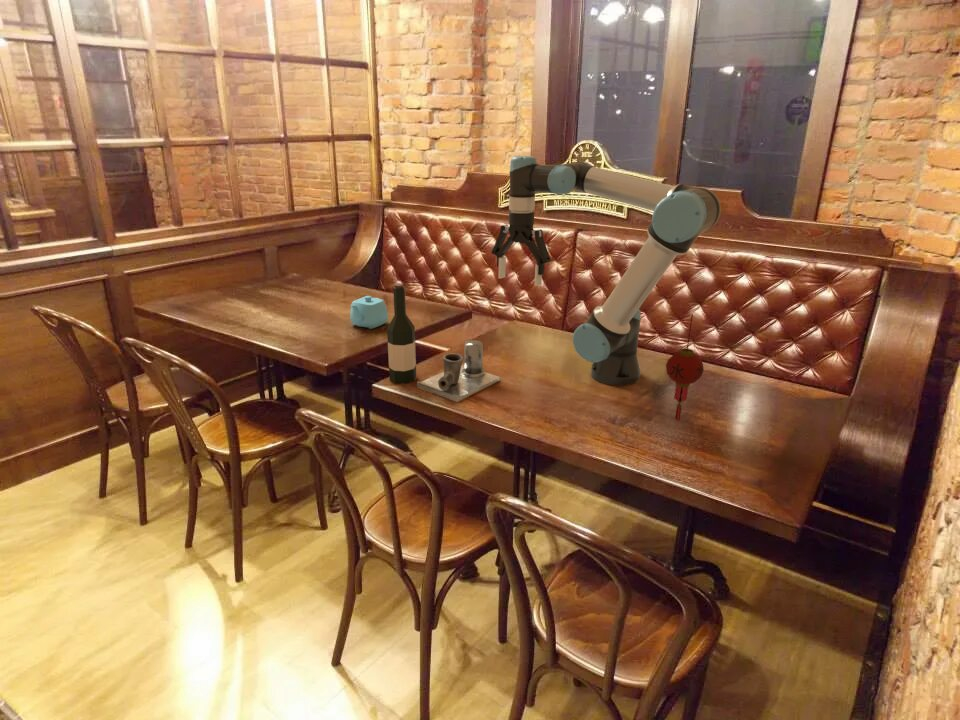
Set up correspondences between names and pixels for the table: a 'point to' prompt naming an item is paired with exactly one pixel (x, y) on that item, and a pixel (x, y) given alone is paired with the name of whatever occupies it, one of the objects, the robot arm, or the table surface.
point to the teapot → (368, 312)
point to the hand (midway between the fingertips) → (519, 281)
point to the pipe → (450, 370)
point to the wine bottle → (401, 341)
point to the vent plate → (464, 376)
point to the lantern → (684, 372)
